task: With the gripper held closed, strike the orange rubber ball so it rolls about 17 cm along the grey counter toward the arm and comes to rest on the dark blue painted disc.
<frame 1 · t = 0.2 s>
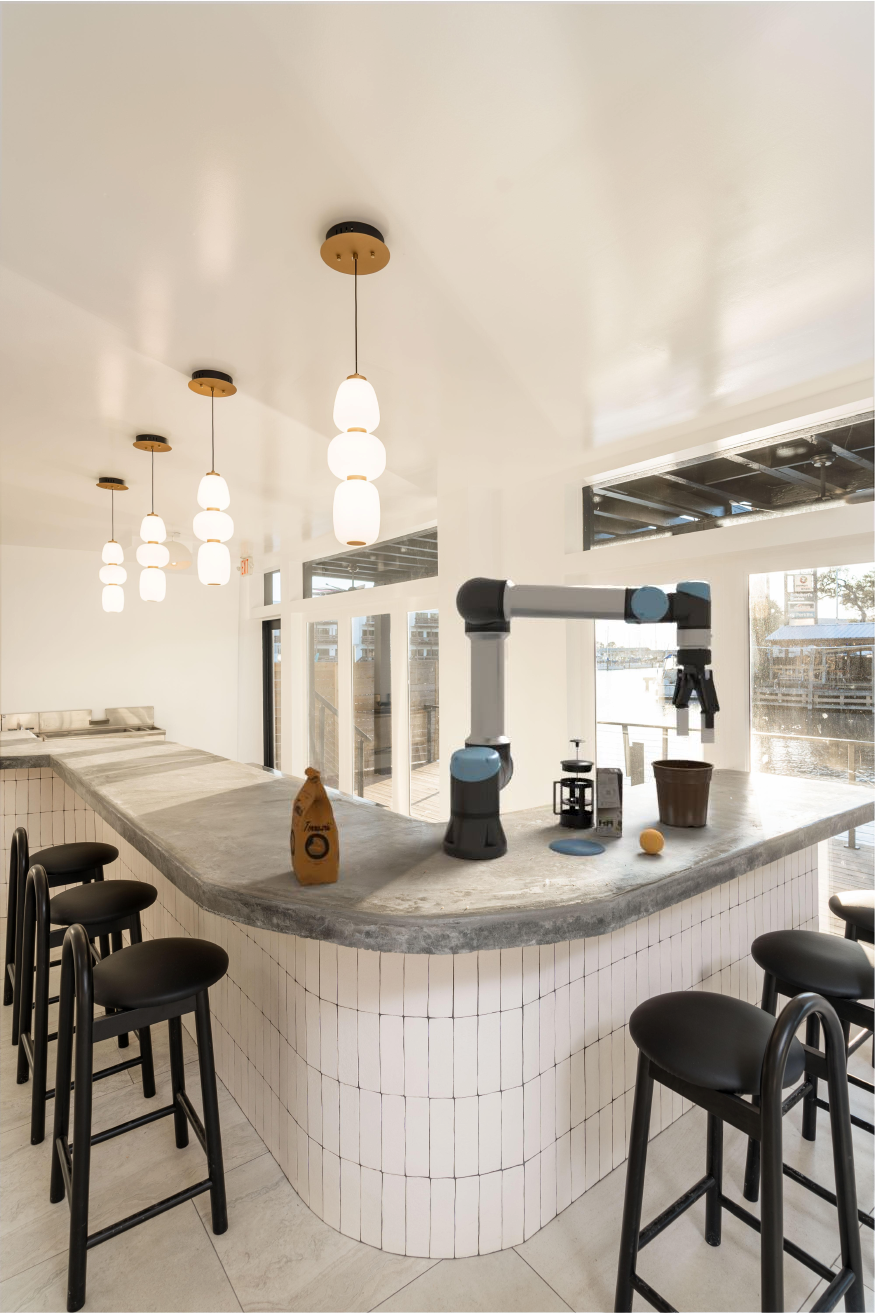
hand: (694, 739, 155), 26 cm above the worktop, tool pointing down, fingers open, 13 cm apart
plant pot: (681, 823, 183), on the worktop
coffee box: (608, 833, 173), on the worktop
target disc: (577, 847, 159), on the worktop
french press: (575, 825, 180), on the worktop
ball: (651, 841, 155), on the worktop
coffee package: (314, 877, 139), on the worktop
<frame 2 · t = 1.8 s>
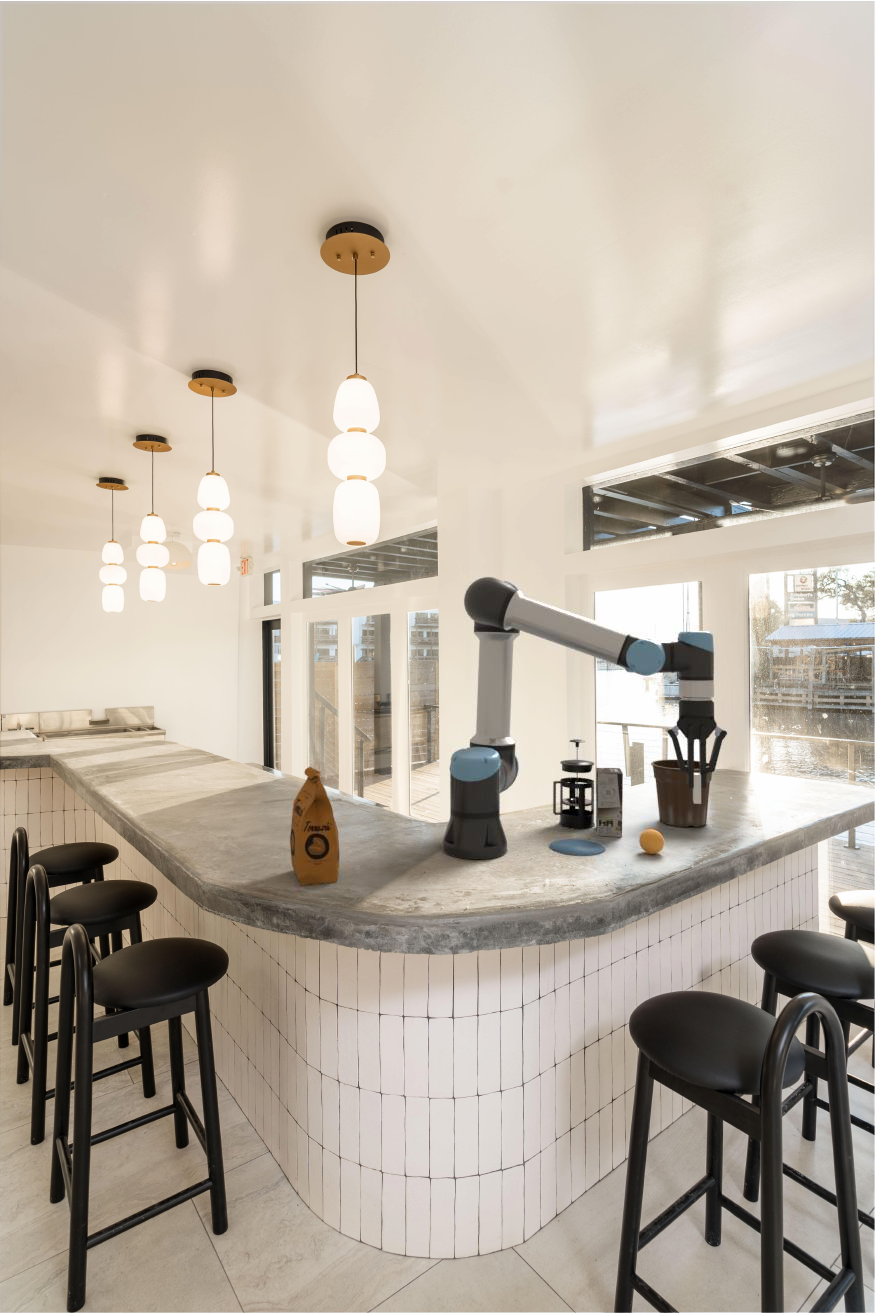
hand: (697, 802, 152), 13 cm above the worktop, tool pointing down, fingers closed
nothing on the worktop moved.
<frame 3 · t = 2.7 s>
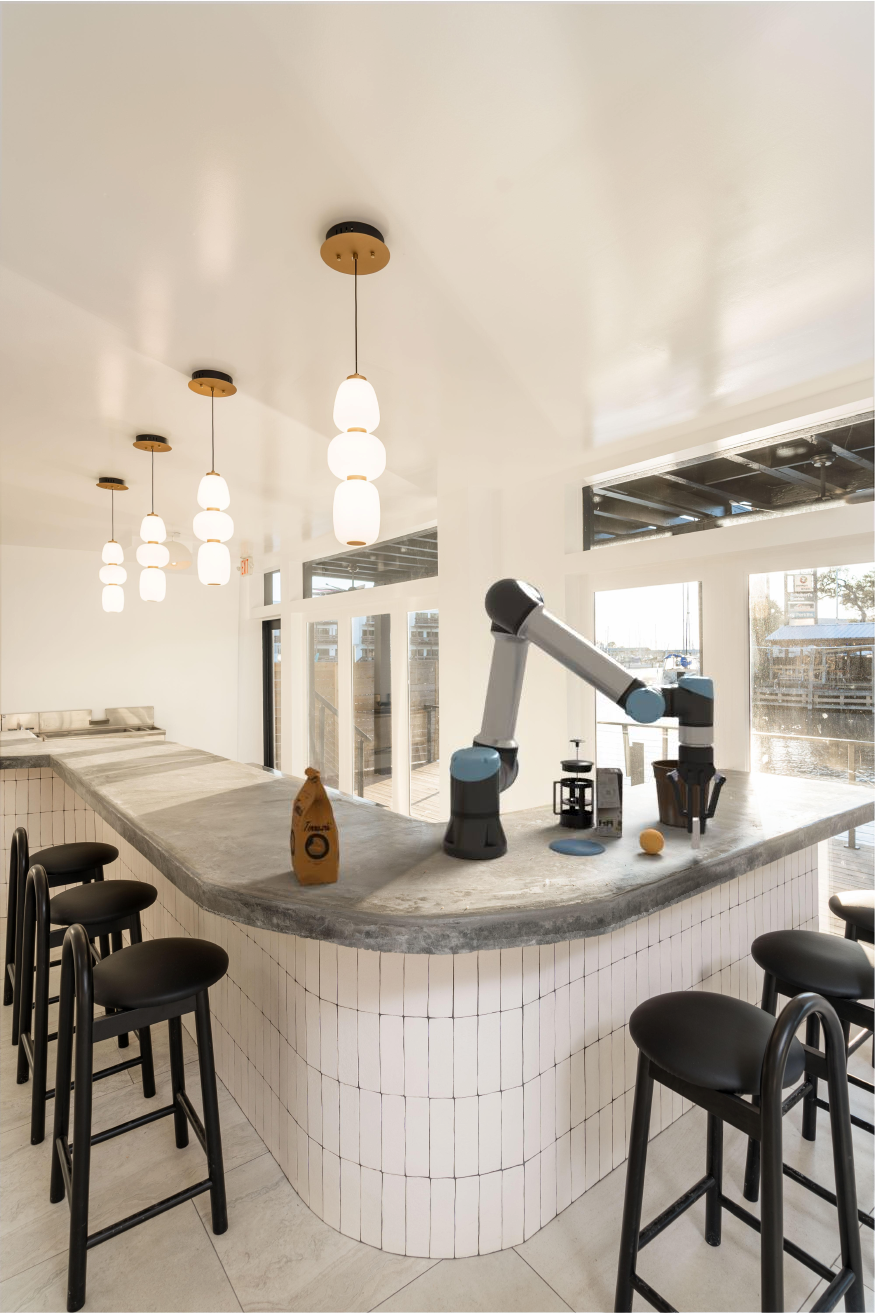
hand: (695, 847, 152), 2 cm above the worktop, tool pointing down, fingers closed
nothing on the worktop moved.
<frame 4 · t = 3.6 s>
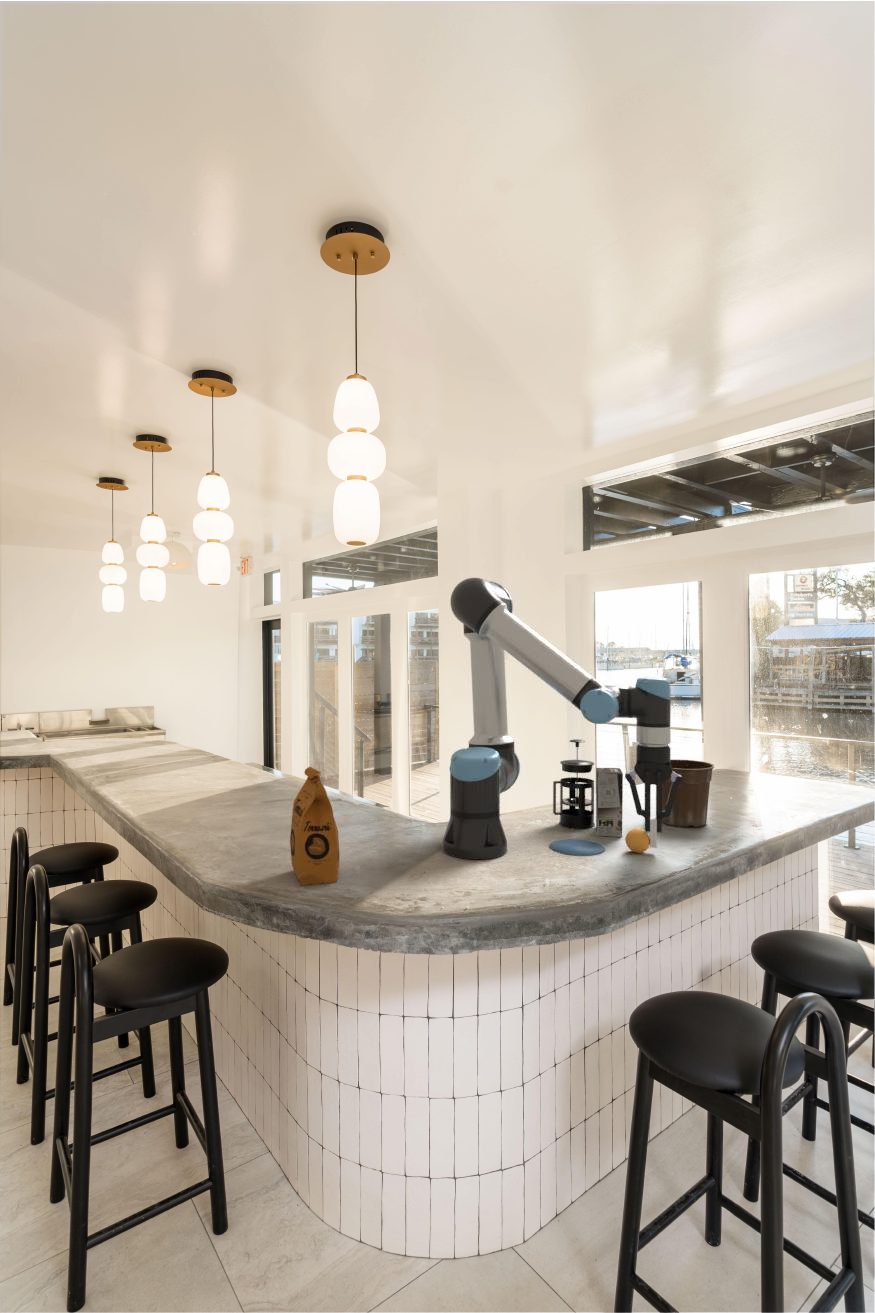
hand: (653, 845, 155), 2 cm above the worktop, tool pointing down, fingers closed
ball: (637, 840, 155), on the worktop, touching gripper
everything else where it was.
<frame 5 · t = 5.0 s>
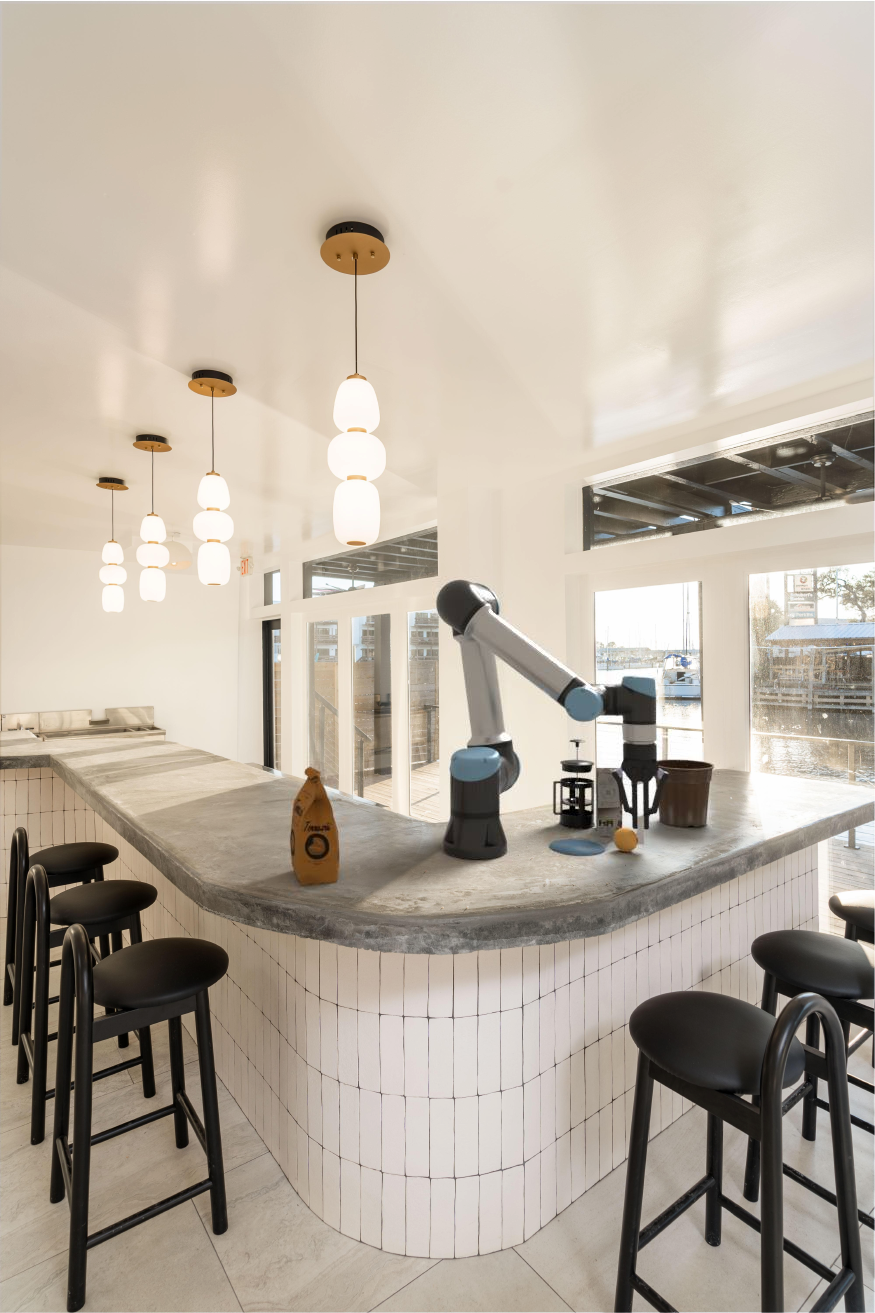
hand: (640, 842, 155), 2 cm above the worktop, tool pointing down, fingers closed
ball: (625, 839, 156), on the worktop, touching gripper
everything else where it was.
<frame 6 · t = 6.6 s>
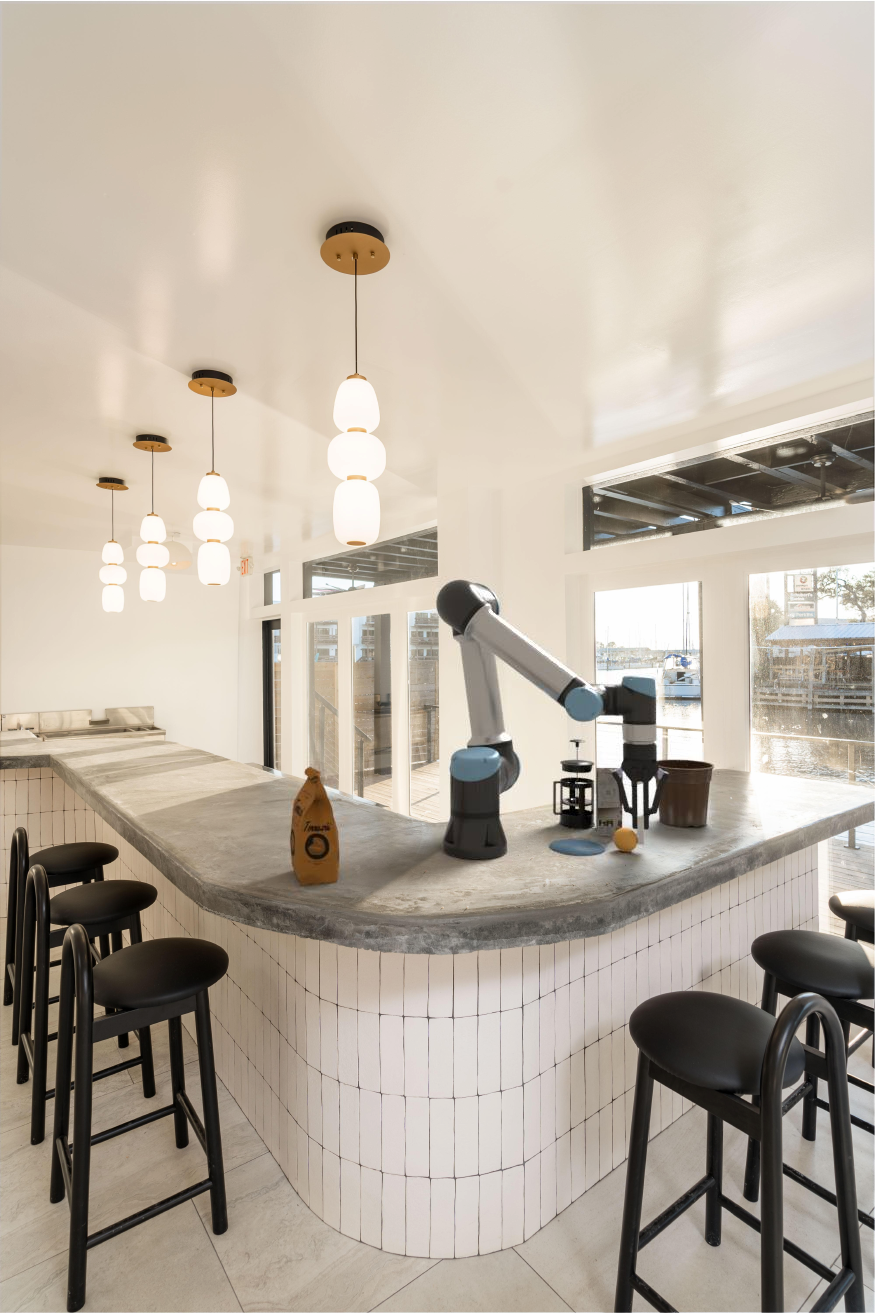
hand: (640, 842, 155), 2 cm above the worktop, tool pointing down, fingers closed
nothing on the worktop moved.
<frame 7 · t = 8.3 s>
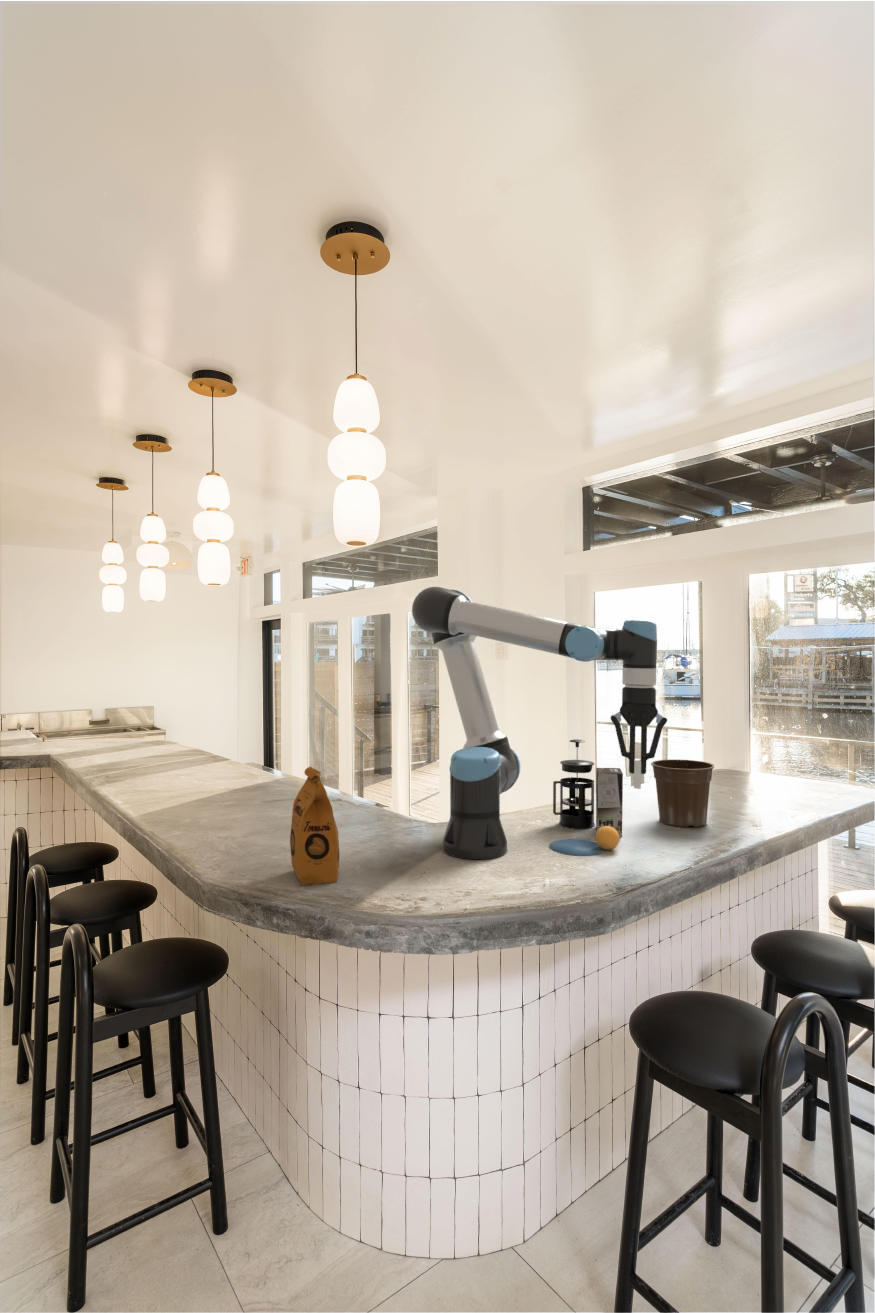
hand: (637, 787, 155), 15 cm above the worktop, tool pointing down, fingers closed
ball: (607, 838, 158), on the worktop
everything else where it was.
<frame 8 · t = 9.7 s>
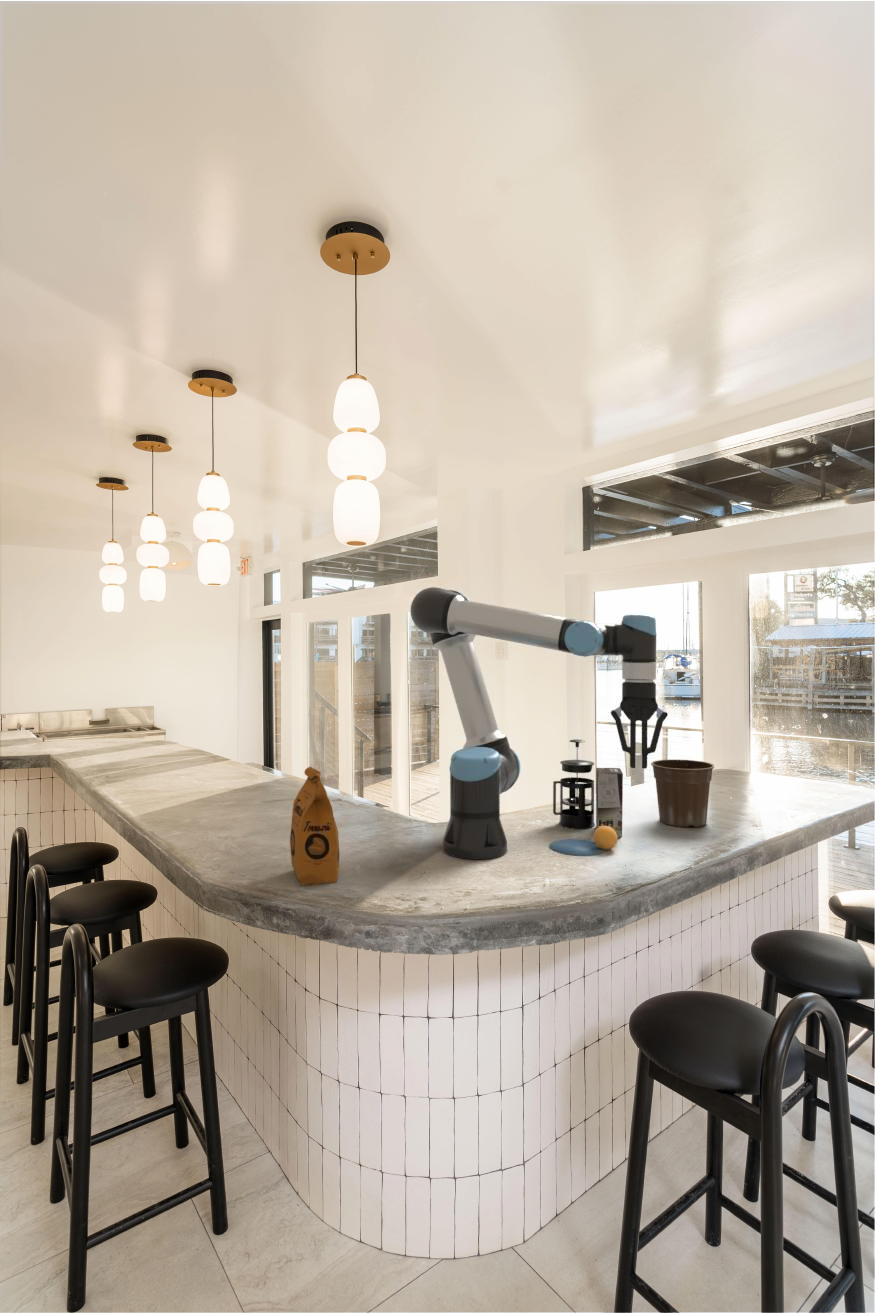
hand: (638, 782, 155), 16 cm above the worktop, tool pointing down, fingers closed
nothing on the worktop moved.
at the end: ball 6.6 cm from the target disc (horizontally); ball at rest at the end (0.0 cm/s); ball moved 10.4 cm from its start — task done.
